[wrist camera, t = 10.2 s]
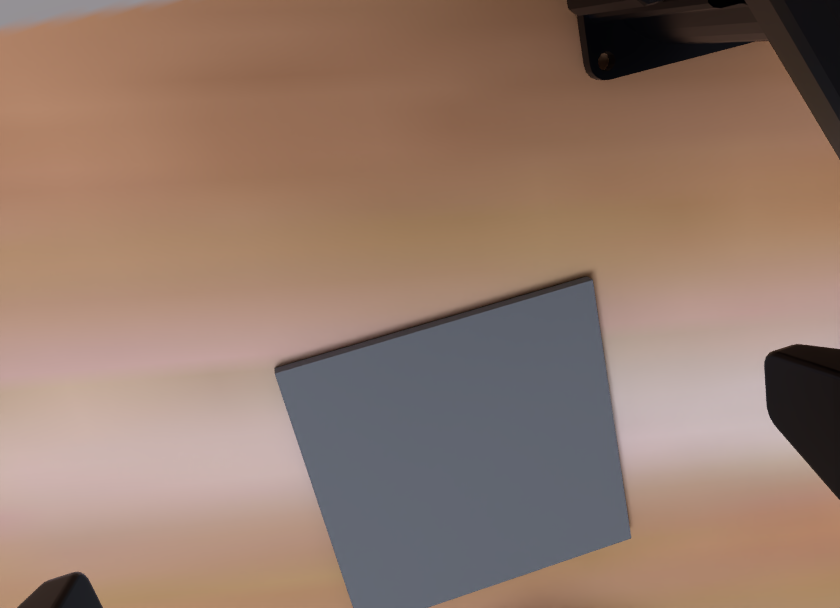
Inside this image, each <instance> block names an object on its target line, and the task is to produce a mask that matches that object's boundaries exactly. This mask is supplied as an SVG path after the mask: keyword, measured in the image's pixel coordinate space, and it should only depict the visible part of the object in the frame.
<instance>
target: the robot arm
mask: <svg viewBox="0 0 840 608" xmlns="http://www.w3.org/2000/svg"><path fill="white" fill-rule="evenodd" d="M567 4H568V8H569V10H571V11H572V12H573V13H574V14H575V15H577V19H578V27H579V34H580V41H581V48H582V56H583V63H584V67H585V70H586V73H587V74H588V75H589V76H590V77H591V78H594V79H596V80H610V79H614V78H618V77H621V76H625V75H629V74H633V73H637V72H641V71H644V70H648V69H652V68H656V67H660V66H663V65H667V64H671V63H675V62H679V61H683V60H686V59H690V58H694V57H698V56H702V55H705V54H709V53H713V52H717V51H721V50H725V49H728V48H732V47H736V46H740V45H744V44H748V43H751V42H755V41H769V42H770V44H771V45H772V47H773V49H774V50H775V52H776V54H777V55H778V57H779V59H780V60H781V62H782V64H783V65H784V67H785V69H786V70H787V72H788V74H789V75H790V77H791V79H792V80H793V82H794V84H795V85H796V87H797V89H798V90H799V92H800V94H801V96H802V97H803V99H804V101H805V102H806V104H807V106H808V107H809V109H810V111H811V112H812V114H813V116H814V117H815V119H816V121H817V122H818V124H819V126H820V127H821V129H822V131H823V132H824V134H825V136H826V137H827V139H828V141H829V142H830V144H831V146H832V147H833V149H834V151H835V152H836V154H837V156H838V157H839V159H840V0H567ZM602 53H606V54H607V55H608V58H609V63H608V66H607V67H606V69H604V70H602V69H600V68H599V65H598V58H599V57H600V55H601V54H602ZM764 369H765V385H766V402H767V410H768V413H769V416H770V418H771V420H772V422H773V423H774V425H775V426H776V427H777V429H778V430H779V431H780V432H781V433H782V434H783V435H784V437H785V438H786V439H787V440H788V441H789V442H790V443H791V445H792V446H793V447H794V448H795V449H796V450H797V452H798V453H799V454H800V455H801V456H802V457H803V458H804V460H805V461H806V462H807V463H808V464H809V465H810V467H811V468H812V469H813V470H814V471H815V472H816V473H817V475H818V476H819V477H820V478H821V479H822V480H823V481H824V483H825V484H826V485H827V486H828V487H829V488H830V490H831V491H832V492H833V493H834V494H835V495H836V496H837V497H838V499H839V500H840V349H834V348H826V347H818V346H810V345H802V344H796V345H791V346H788V347H784V348H781V349H778V350H775V351H772V352H770V353H769V354H768V355H767V356H766V359H765V363H764ZM17 608H103V607H102V605H101V603H100V601H99V599H98V597H97V595H96V593H95V591H94V589H93V587H92V585H91V583H90V581H89V579H88V578H87V577H86V576H85V575H84V574H83V573H81V572H73V573H70V574H66V575H63V576H60V577H57V578H54V579H51V580H48V581H46V582H44V583H43V584H42V585H41V586H39V587H38V588H37V589H36V590H35V591H34V592H33V593H32V594H31V595H30V596H29V597H28V598H27V599H26V600H25V601H24V602H23V603H21V604H20V605H19V606H18V607H17Z"/></svg>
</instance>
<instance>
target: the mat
mask: <svg viewBox="0 0 840 608" xmlns="http://www.w3.org/2000/svg"><path fill="white" fill-rule="evenodd" d="M275 376H276V379H277V382H278V385H279V388H280V391H281V394H282V397H283V400H284V403H285V406H286V409H287V412H288V415H289V418H290V420H291V423H292V426H293V429H294V432H295V435H296V438H297V441H298V444H299V447H300V450H301V453H302V456H303V459H304V462H305V465H306V468H307V471H308V474H309V477H310V480H311V483H312V486H313V489H314V492H315V495H316V498H317V501H318V504H319V507H320V510H321V513H322V516H323V519H324V522H325V525H326V528H327V531H328V534H329V537H330V540H331V543H332V546H333V549H334V552H335V555H336V558H337V561H338V564H339V567H340V570H341V573H342V576H343V579H344V582H345V585H346V588H347V591H348V594H349V597H350V600H351V603H352V606H353V608H428V607H431V606H434V605H437V604H440V603H442V602H445V601H448V600H451V599H454V598H457V597H460V596H463V595H466V594H469V593H472V592H475V591H478V590H481V589H484V588H487V587H489V586H492V585H495V584H498V583H501V582H504V581H507V580H510V579H513V578H516V577H519V576H522V575H525V574H528V573H531V572H534V571H536V570H539V569H542V568H545V567H548V566H551V565H554V564H557V563H560V562H563V561H566V560H569V559H572V558H575V557H578V556H581V555H583V554H586V553H589V552H592V551H595V550H598V549H601V548H604V547H607V546H610V545H613V544H616V543H619V542H622V541H625V540H627V539H630V538H631V534H630V527H629V520H628V513H627V507H626V500H625V493H624V487H623V480H622V473H621V466H620V460H619V453H618V446H617V440H616V433H615V426H614V420H613V413H612V406H611V399H610V393H609V386H608V379H607V373H606V366H605V359H604V353H603V346H602V339H601V332H600V326H599V319H598V312H597V306H596V299H595V292H594V285H593V280H592V279H590V278H589V277H583V278H580V279H577V280H573V281H570V282H566V283H563V284H560V285H556V286H553V287H549V288H546V289H543V290H539V291H536V292H532V293H529V294H526V295H522V296H519V297H515V298H512V299H509V300H505V301H502V302H498V303H495V304H491V305H488V306H485V307H481V308H478V309H474V310H471V311H468V312H464V313H461V314H457V315H454V316H451V317H447V318H444V319H440V320H437V321H434V322H430V323H427V324H423V325H420V326H417V327H413V328H410V329H406V330H403V331H400V332H396V333H393V334H389V335H386V336H383V337H379V338H376V339H372V340H369V341H366V342H362V343H359V344H355V345H352V346H349V347H345V348H342V349H338V350H335V351H332V352H328V353H325V354H321V355H318V356H315V357H311V358H308V359H304V360H301V361H298V362H294V363H291V364H287V365H284V366H281V367H277V368H275Z"/></svg>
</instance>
